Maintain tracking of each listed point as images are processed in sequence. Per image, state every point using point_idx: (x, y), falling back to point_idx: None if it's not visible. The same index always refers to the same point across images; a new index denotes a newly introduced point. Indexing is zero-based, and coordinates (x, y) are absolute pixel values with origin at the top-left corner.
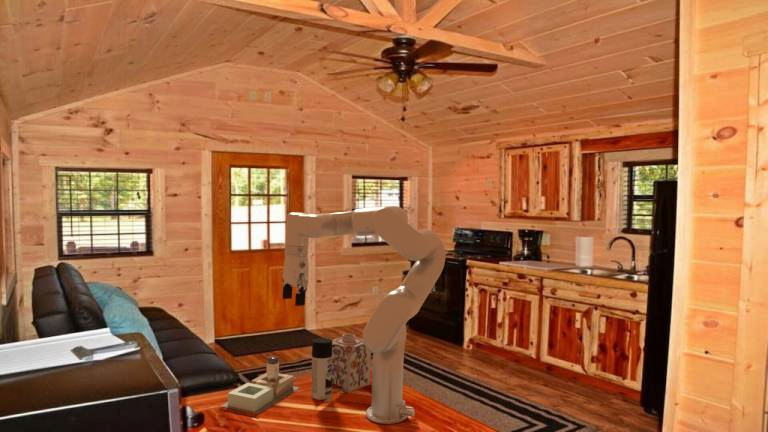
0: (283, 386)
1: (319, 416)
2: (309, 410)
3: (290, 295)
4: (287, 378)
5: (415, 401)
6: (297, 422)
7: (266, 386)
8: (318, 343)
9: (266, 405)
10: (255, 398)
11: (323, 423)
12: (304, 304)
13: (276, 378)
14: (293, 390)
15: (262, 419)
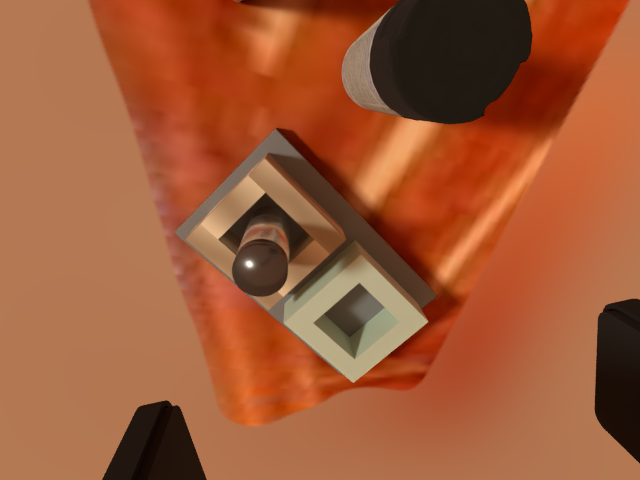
0: (315, 205)
1: (497, 122)
2: (441, 139)
3: (169, 459)
4: (285, 187)
5: None
6: (503, 196)
7: (340, 273)
8: (500, 94)
9: (388, 265)
10: (426, 319)
11: (547, 125)
12: (635, 302)
13: (286, 231)
14: (297, 159)
15: (439, 279)
